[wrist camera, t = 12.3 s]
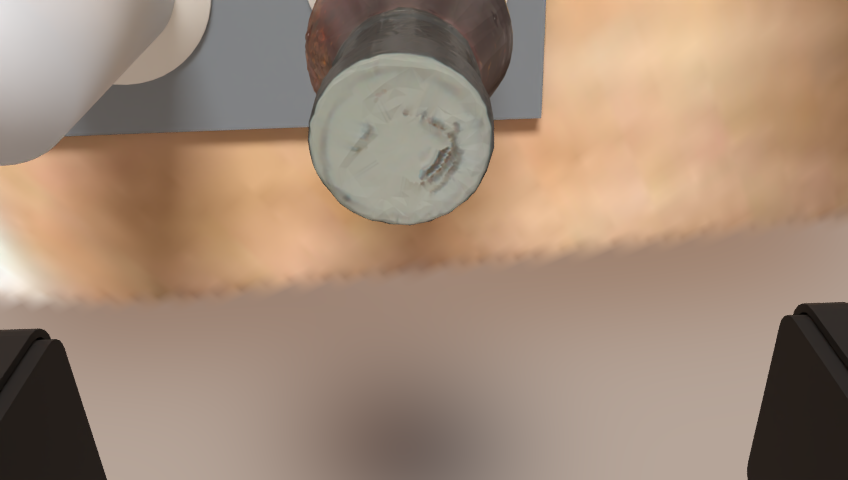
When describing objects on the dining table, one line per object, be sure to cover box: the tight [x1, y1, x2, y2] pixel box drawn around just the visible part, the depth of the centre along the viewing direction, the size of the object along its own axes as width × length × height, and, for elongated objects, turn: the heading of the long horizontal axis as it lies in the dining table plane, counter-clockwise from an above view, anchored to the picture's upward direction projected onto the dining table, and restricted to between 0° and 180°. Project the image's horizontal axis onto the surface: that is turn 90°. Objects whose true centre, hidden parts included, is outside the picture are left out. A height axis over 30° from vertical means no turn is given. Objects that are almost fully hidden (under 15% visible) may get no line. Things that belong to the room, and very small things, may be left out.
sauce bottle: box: [305, 0, 513, 225], centre depth 26 cm, size 6×6×20 cm
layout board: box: [0, 0, 546, 166], centre depth 30 cm, size 25×14×13 cm, turn 92°
